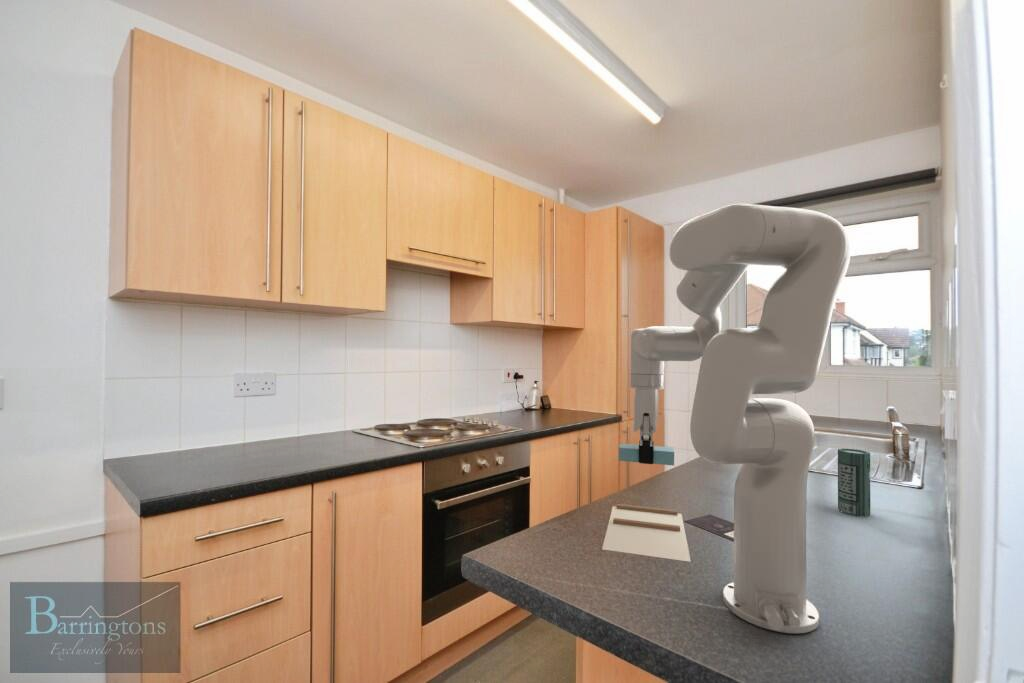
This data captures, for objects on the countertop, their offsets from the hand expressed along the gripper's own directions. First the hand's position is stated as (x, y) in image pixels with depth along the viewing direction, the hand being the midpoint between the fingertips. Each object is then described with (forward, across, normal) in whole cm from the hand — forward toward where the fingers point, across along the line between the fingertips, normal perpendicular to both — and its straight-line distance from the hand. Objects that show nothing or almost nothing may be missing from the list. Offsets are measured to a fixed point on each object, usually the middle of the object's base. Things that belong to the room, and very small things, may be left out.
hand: (646, 459), depth 104 cm
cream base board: (+14, +7, 0) cm, 16 cm away
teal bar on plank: (0, 0, 0) cm, 0 cm away
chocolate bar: (+14, +2, +18) cm, 23 cm away
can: (+14, -23, +49) cm, 56 cm away
